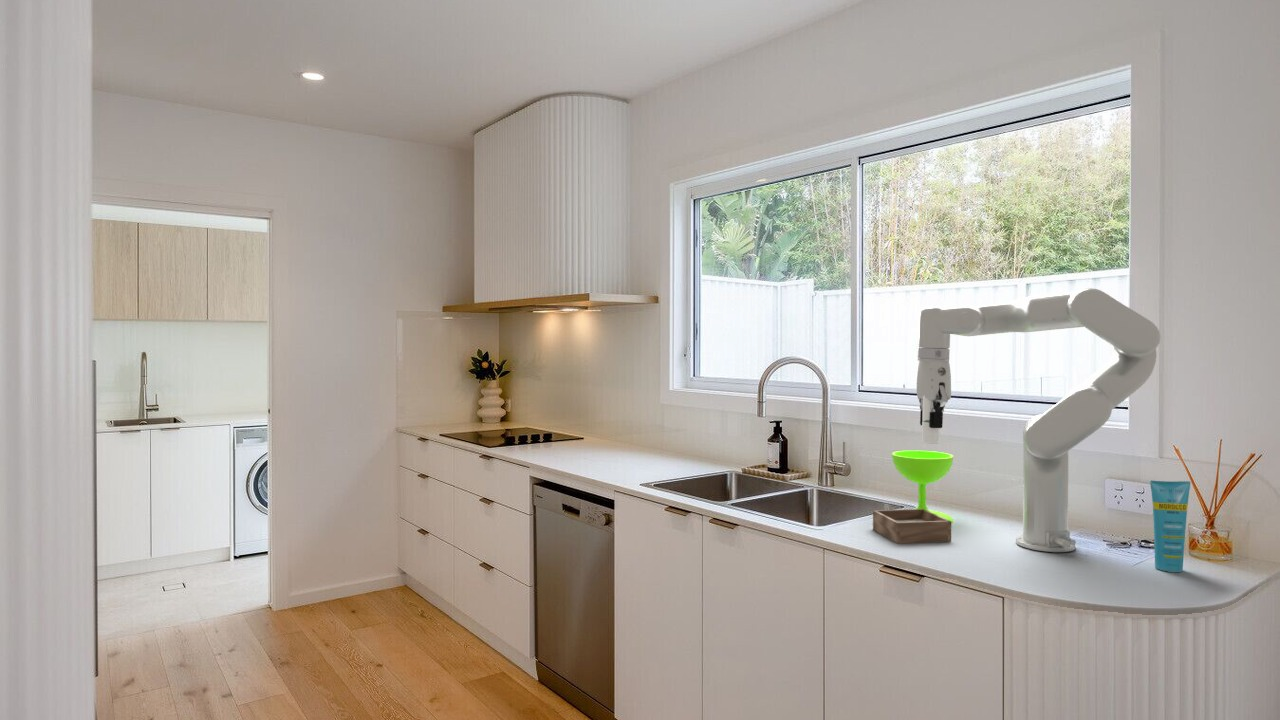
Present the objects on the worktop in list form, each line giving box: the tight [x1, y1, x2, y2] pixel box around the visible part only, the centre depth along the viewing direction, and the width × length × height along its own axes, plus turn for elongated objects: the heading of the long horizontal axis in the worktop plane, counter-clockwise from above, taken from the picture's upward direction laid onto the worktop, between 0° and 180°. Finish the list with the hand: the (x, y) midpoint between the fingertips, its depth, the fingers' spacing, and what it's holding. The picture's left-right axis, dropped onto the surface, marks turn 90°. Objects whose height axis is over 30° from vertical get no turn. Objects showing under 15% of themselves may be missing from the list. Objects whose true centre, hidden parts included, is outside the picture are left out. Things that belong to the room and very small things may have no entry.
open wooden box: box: [872, 508, 952, 544], centre depth 191 cm, size 14×14×5 cm
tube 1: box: [921, 395, 941, 445], centre depth 191 cm, size 4×4×15 cm
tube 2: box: [1149, 480, 1191, 573], centre depth 160 cm, size 7×5×19 cm, turn 81°
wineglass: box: [891, 450, 954, 524], centre depth 208 cm, size 16×16×18 cm
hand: (931, 425), depth 191 cm, fingers closed on tube 1, 4 cm apart
